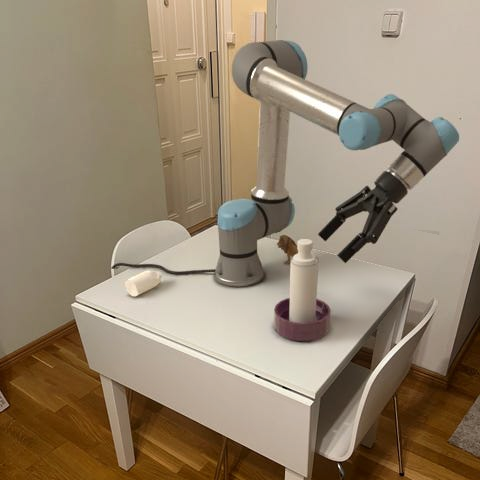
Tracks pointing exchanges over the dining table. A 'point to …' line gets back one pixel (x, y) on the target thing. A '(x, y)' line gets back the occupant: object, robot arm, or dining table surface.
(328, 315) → the bowl
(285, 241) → the lion figurine
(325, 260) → the dining table surface
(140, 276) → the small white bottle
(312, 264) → the spray bottle
